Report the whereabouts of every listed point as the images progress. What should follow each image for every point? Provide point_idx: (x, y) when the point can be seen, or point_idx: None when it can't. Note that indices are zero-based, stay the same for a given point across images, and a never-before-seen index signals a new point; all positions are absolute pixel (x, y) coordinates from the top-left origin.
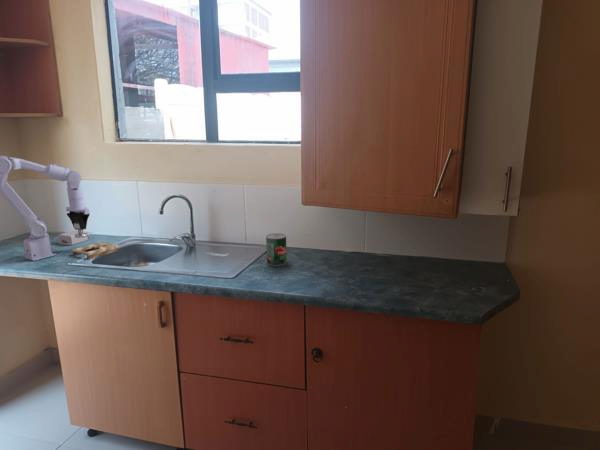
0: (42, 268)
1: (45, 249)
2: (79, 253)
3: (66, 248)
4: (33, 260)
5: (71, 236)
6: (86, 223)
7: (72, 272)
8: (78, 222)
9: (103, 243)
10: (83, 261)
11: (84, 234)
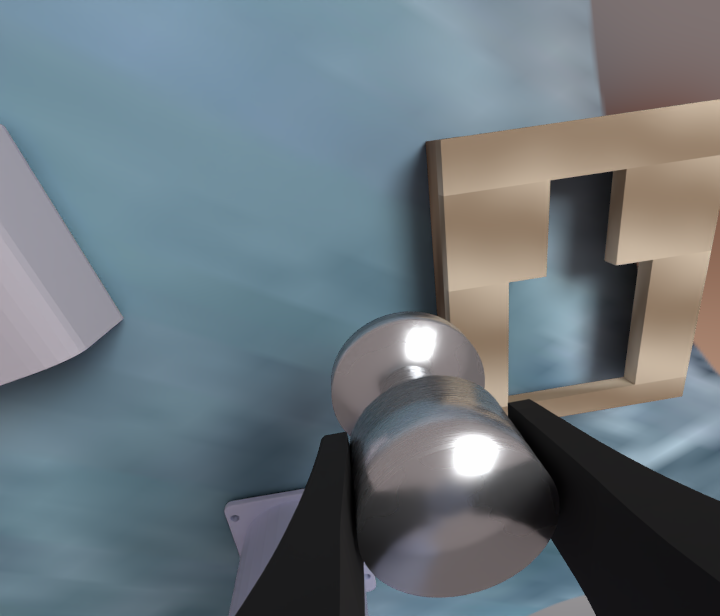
0: (550, 575)
1: (364, 582)
2: None
3: (199, 378)
4: (372, 586)
5: (60, 347)
6: (605, 449)
7: None
8: (408, 531)
9: (515, 162)
10: (652, 409)
11: (456, 368)
